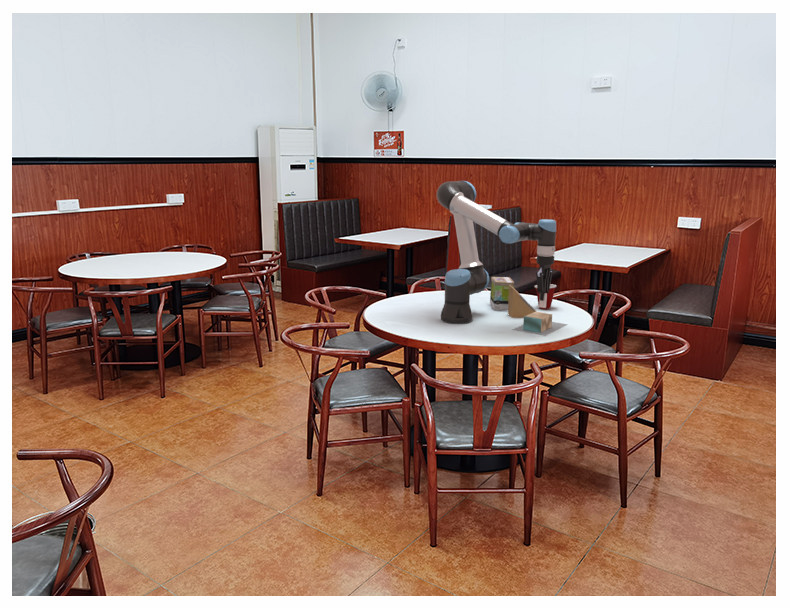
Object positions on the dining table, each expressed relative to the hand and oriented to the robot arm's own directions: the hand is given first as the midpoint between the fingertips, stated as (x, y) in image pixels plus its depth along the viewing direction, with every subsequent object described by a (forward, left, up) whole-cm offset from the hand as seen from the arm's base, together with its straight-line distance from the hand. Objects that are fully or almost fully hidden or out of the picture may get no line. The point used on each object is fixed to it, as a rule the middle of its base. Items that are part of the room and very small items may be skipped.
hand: (542, 307), depth 278 cm
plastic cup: (+35, +15, -10) cm, 39 cm away
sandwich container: (+14, +15, -10) cm, 23 cm away
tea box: (+23, +33, -10) cm, 41 cm away
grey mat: (-1, 0, -9) cm, 9 cm away
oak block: (+2, 0, -6) cm, 6 cm away
